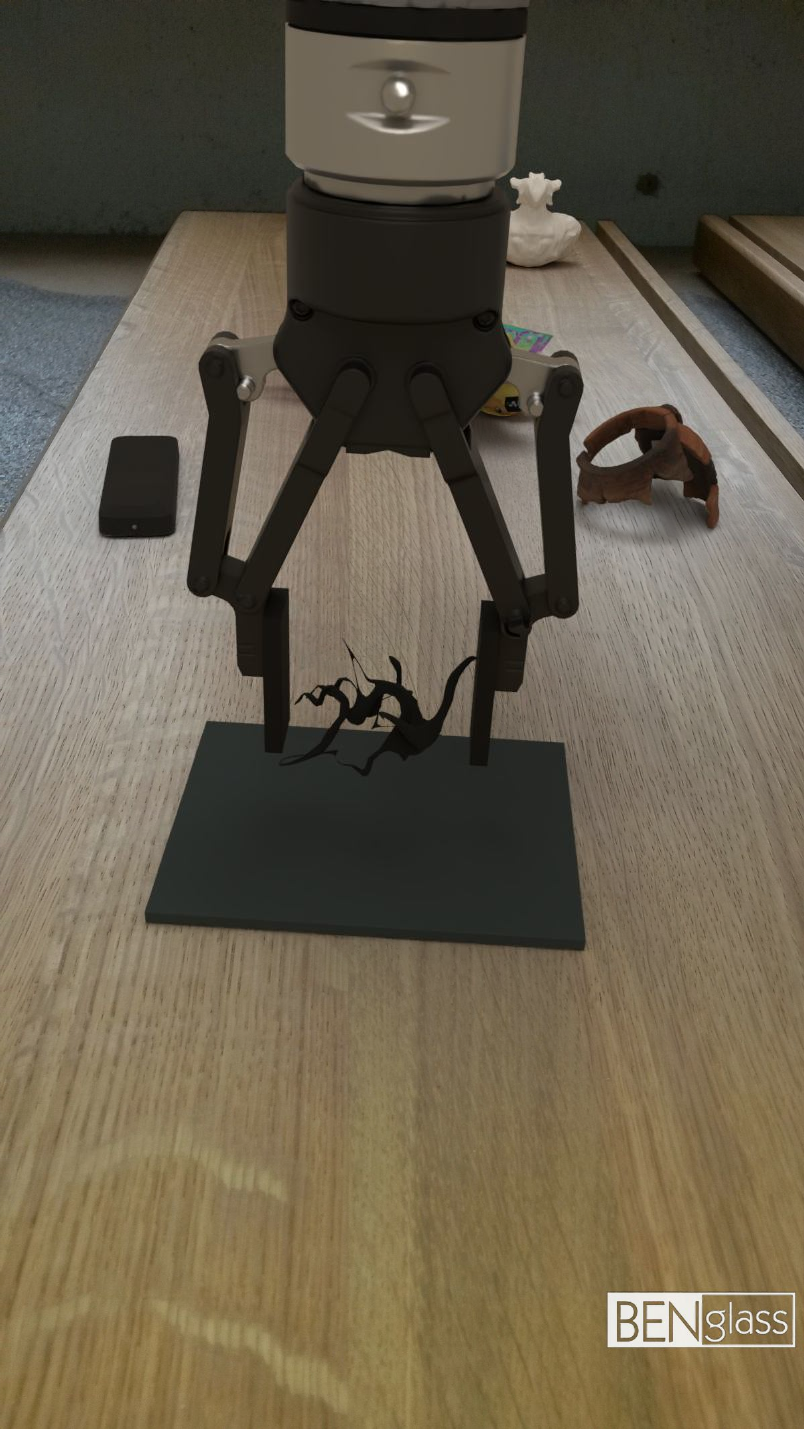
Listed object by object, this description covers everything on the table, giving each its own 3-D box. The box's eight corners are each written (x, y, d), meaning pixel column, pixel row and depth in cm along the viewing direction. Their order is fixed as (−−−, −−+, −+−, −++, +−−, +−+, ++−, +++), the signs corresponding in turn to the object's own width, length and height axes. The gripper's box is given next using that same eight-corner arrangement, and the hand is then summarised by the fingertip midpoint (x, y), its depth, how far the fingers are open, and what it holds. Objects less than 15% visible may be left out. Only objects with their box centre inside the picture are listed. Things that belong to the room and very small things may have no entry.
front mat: (562, 751, 61) (564, 742, 61) (584, 950, 50) (586, 940, 49) (206, 729, 62) (206, 720, 61) (145, 922, 50) (144, 911, 50)
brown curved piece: (727, 554, 82) (688, 457, 77) (596, 584, 87) (551, 495, 82) (735, 449, 90) (700, 355, 85) (614, 482, 94) (574, 395, 89)
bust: (475, 280, 145) (483, 214, 135) (476, 228, 148) (484, 159, 137) (575, 285, 146) (591, 219, 135) (575, 233, 148) (590, 164, 137)
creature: (243, 773, 53) (381, 819, 48) (220, 659, 50) (363, 695, 45) (362, 701, 58) (499, 736, 53) (347, 595, 55) (488, 621, 50)
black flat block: (113, 457, 92) (97, 537, 79) (111, 434, 91) (95, 511, 78) (180, 457, 92) (175, 536, 80) (178, 434, 91) (173, 510, 79)
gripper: (53, 182, 37) (118, 777, 50) (736, 220, 37) (627, 810, 50) (113, 142, 44) (157, 680, 56) (698, 174, 43) (609, 708, 56)
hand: (377, 740), depth 53 cm, fingers closed on creature, 8 cm apart
